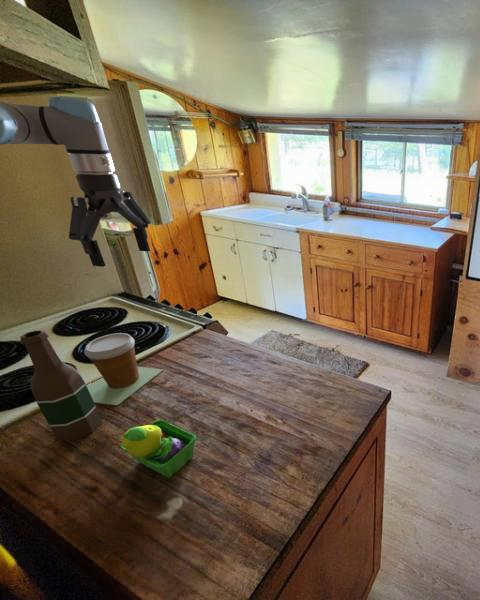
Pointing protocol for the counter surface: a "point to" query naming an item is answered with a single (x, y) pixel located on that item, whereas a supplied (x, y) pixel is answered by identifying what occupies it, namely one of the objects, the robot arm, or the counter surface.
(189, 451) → the fruit basket
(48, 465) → the counter surface
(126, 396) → the mat
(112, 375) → the disposable coffee cup
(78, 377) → the beer bottle
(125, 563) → the counter surface
